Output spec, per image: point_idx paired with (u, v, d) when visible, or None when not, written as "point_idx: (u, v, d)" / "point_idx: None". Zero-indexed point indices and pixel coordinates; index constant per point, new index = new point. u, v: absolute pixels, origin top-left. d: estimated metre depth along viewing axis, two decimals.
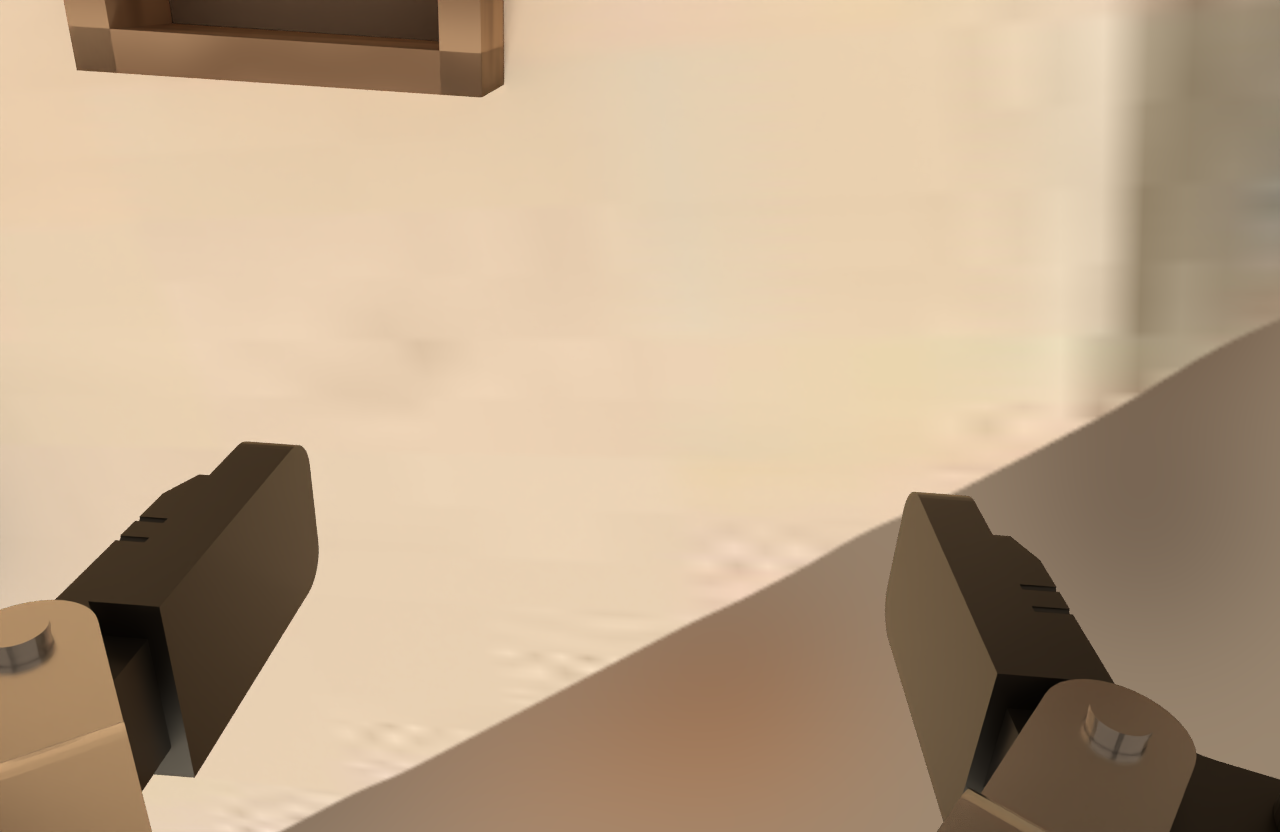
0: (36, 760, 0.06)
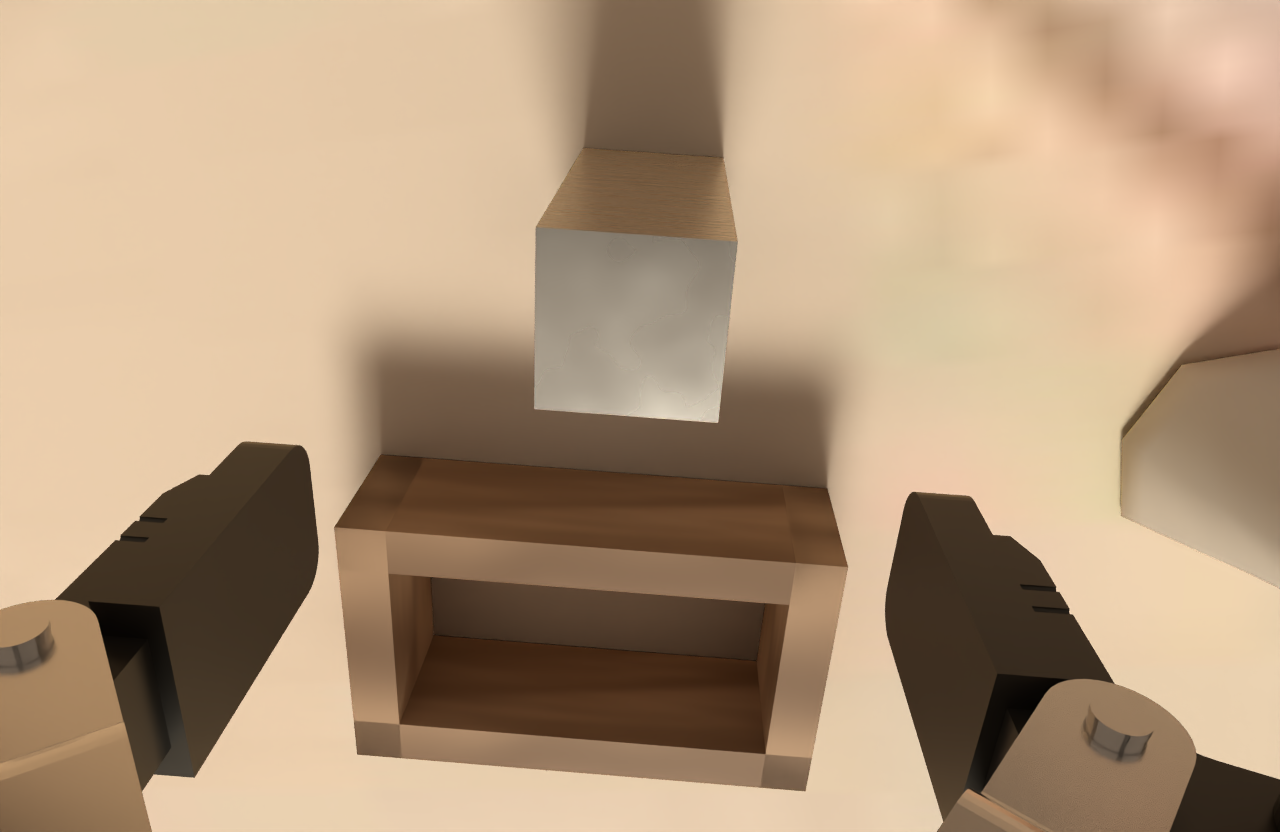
0: (36, 760, 0.06)
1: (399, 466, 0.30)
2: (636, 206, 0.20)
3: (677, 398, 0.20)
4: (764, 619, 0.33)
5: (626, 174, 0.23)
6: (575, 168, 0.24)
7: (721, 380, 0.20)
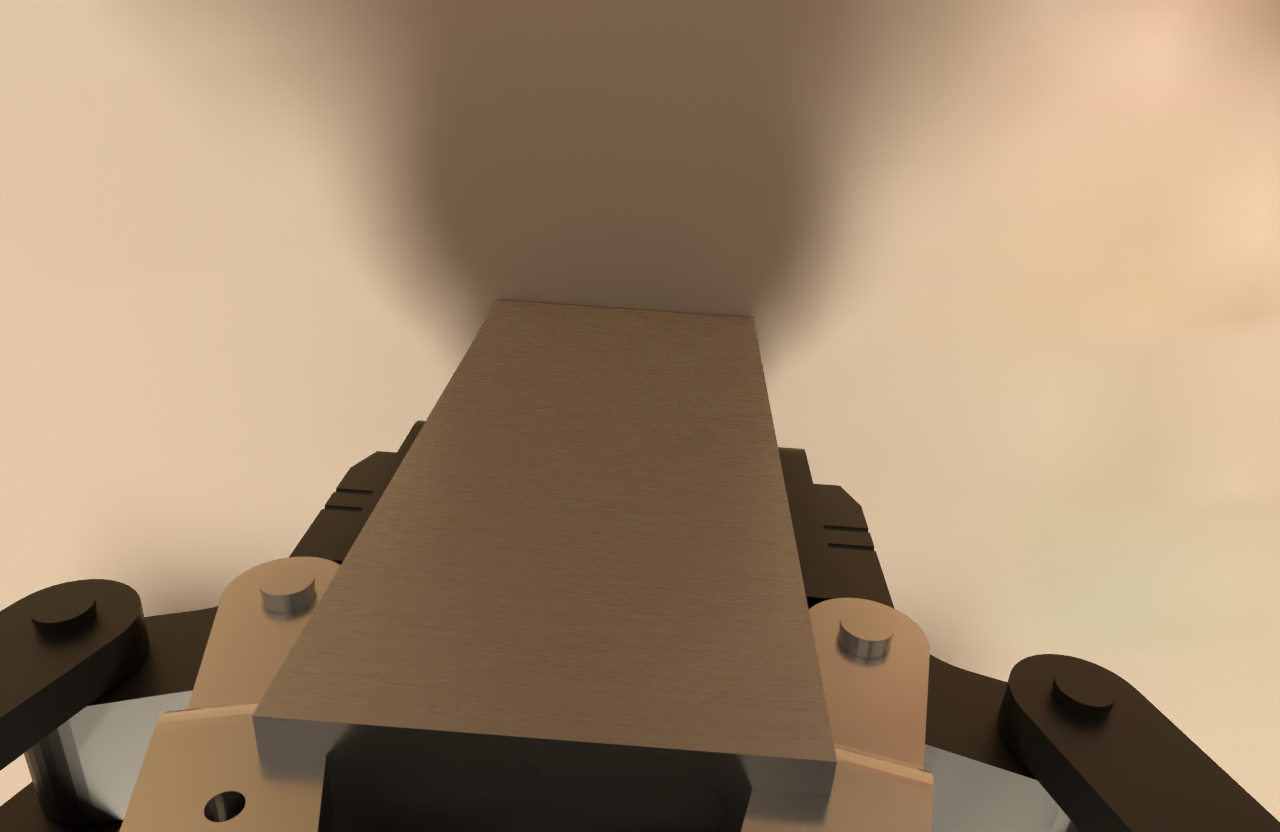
0: None
1: None
2: (565, 544, 0.08)
3: None
4: None
5: (563, 391, 0.11)
6: (462, 374, 0.12)
7: None
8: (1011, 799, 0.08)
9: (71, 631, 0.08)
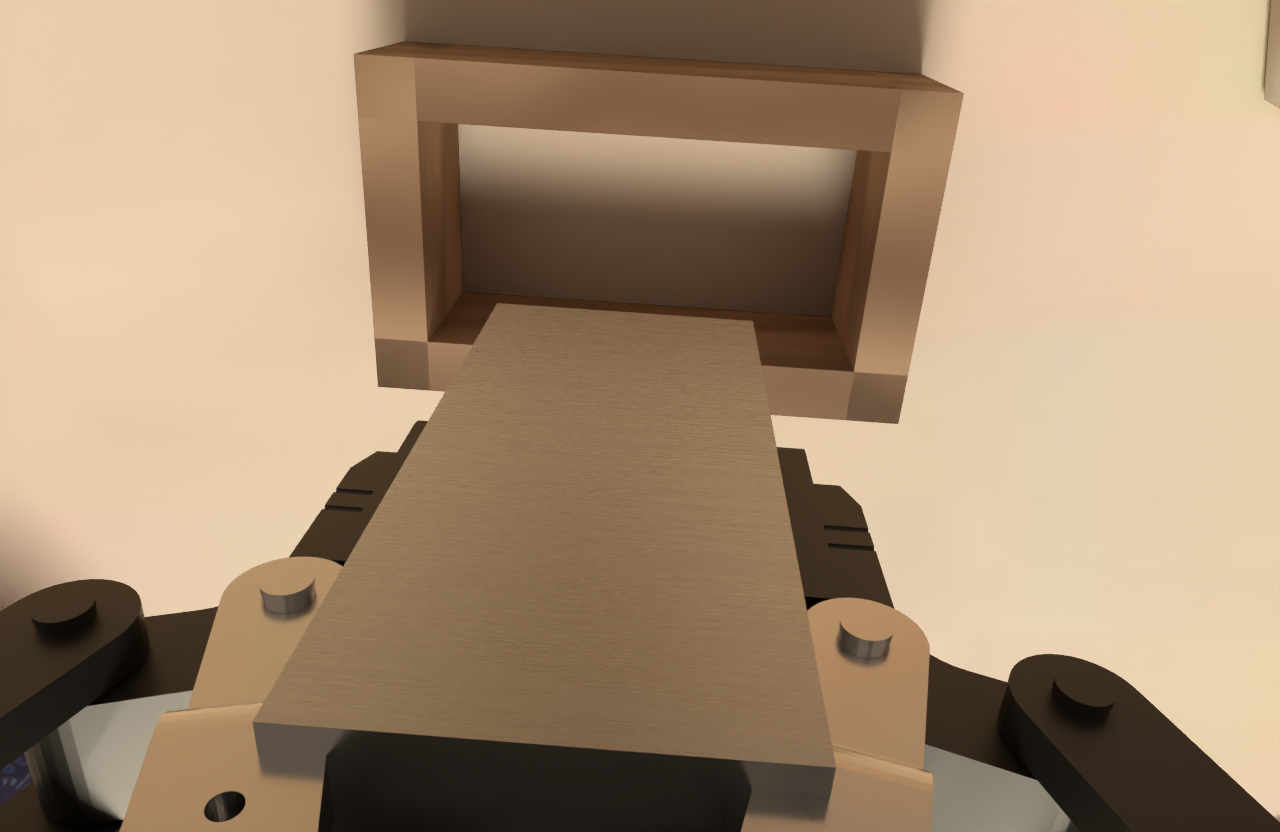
0: (255, 712, 0.07)
1: (426, 44, 0.26)
2: (565, 549, 0.08)
3: None
4: (843, 254, 0.29)
5: (563, 395, 0.11)
6: (462, 378, 0.12)
7: None
8: (1011, 799, 0.08)
9: (71, 631, 0.08)
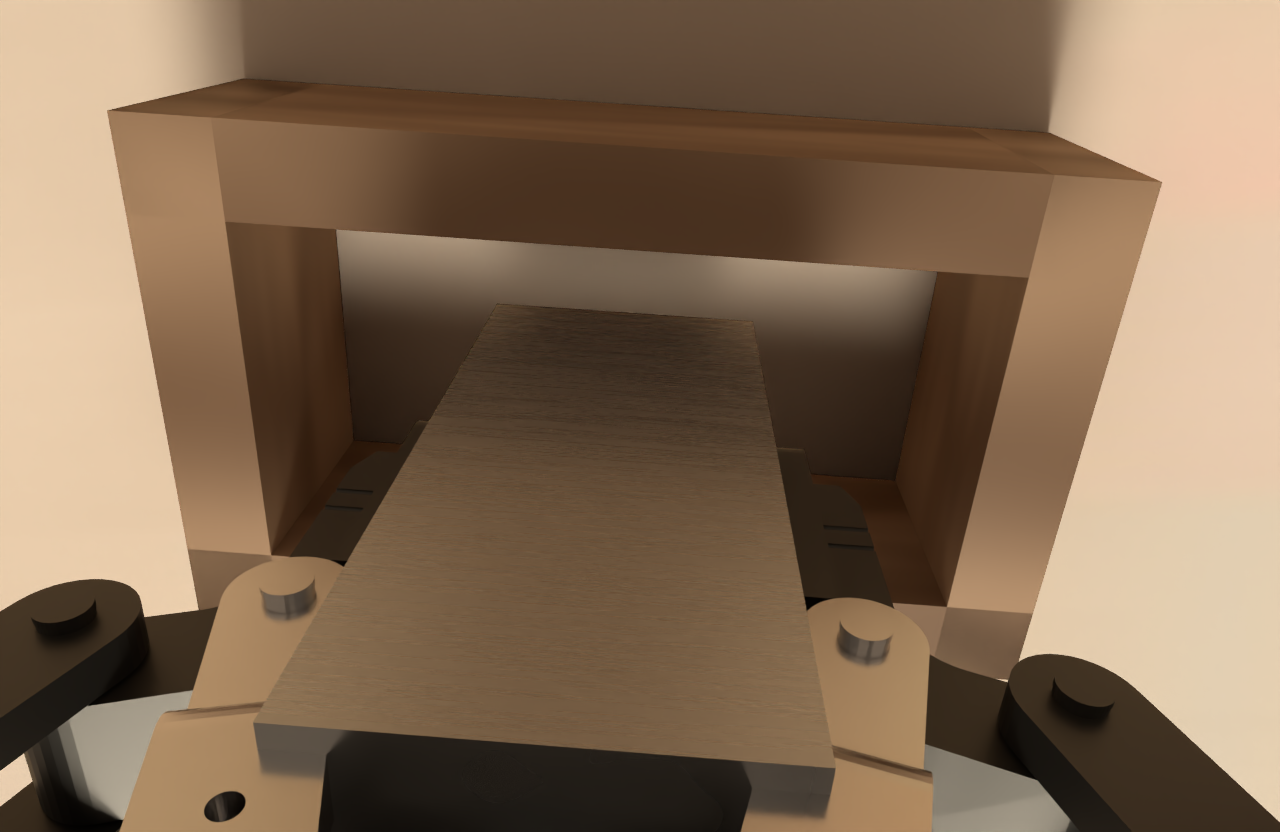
0: (255, 712, 0.07)
1: (272, 85, 0.17)
2: (565, 550, 0.08)
3: None
4: (918, 396, 0.19)
5: (563, 396, 0.11)
6: (462, 379, 0.12)
7: None
8: (1011, 799, 0.08)
9: (71, 631, 0.08)
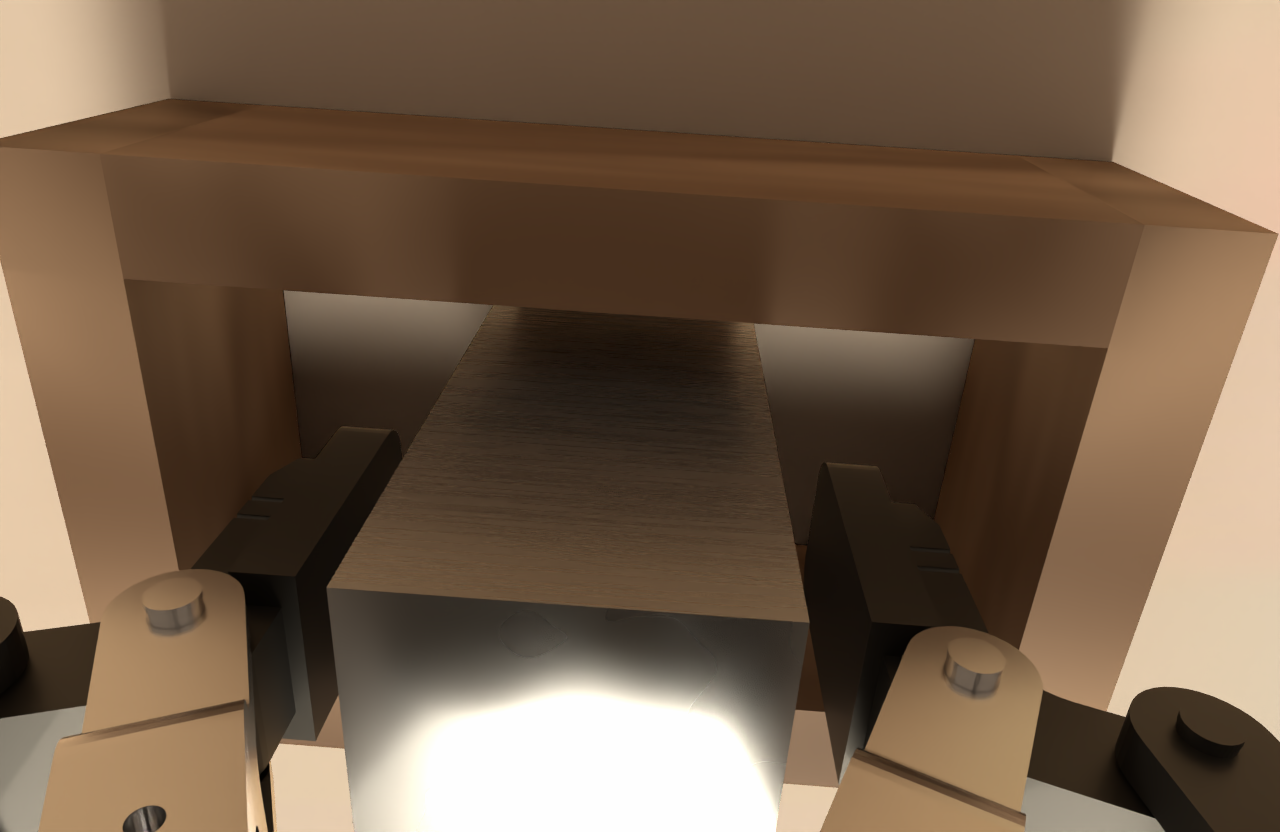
0: (162, 727, 0.07)
1: (198, 108, 0.14)
2: (581, 467, 0.10)
3: None
4: (954, 462, 0.16)
5: (575, 348, 0.13)
6: (484, 334, 0.13)
7: None
8: None
9: None
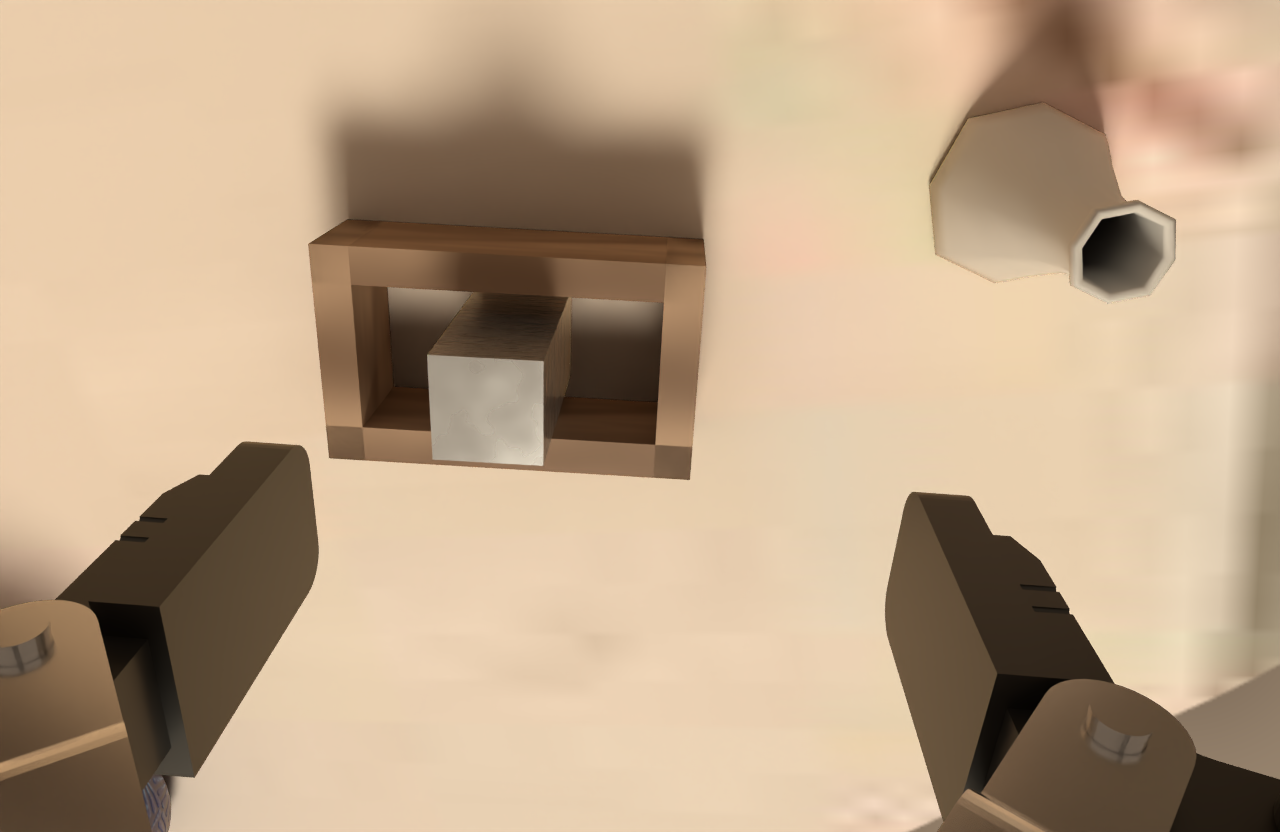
0: (36, 760, 0.06)
1: (361, 223, 0.38)
2: (494, 335, 0.34)
3: (517, 451, 0.33)
4: None
5: (498, 308, 0.37)
6: (467, 304, 0.37)
7: (542, 440, 0.33)
8: None
9: None
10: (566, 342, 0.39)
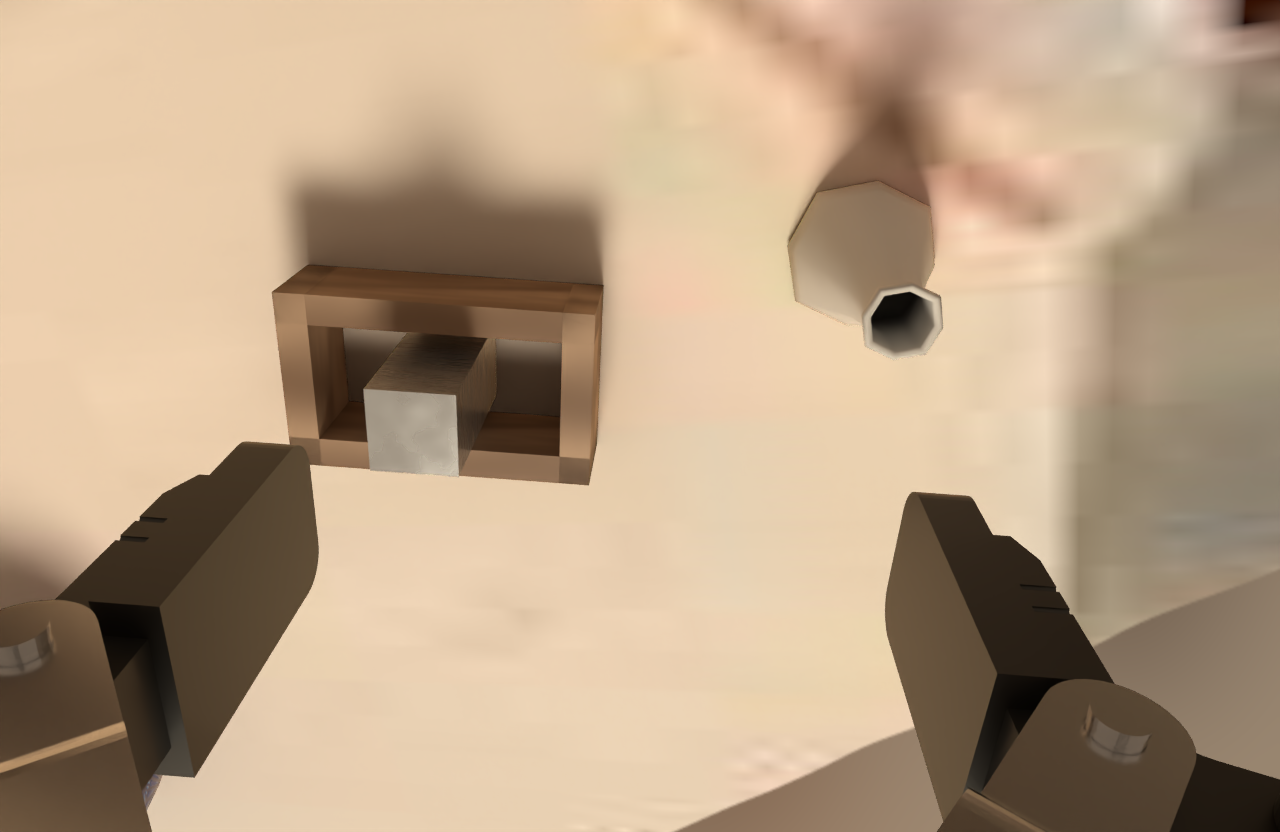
0: (36, 760, 0.06)
1: (319, 269, 0.46)
2: (421, 370, 0.42)
3: (437, 465, 0.41)
4: None
5: (430, 343, 0.45)
6: (404, 339, 0.45)
7: (457, 457, 0.41)
8: None
9: None
10: (489, 369, 0.47)
